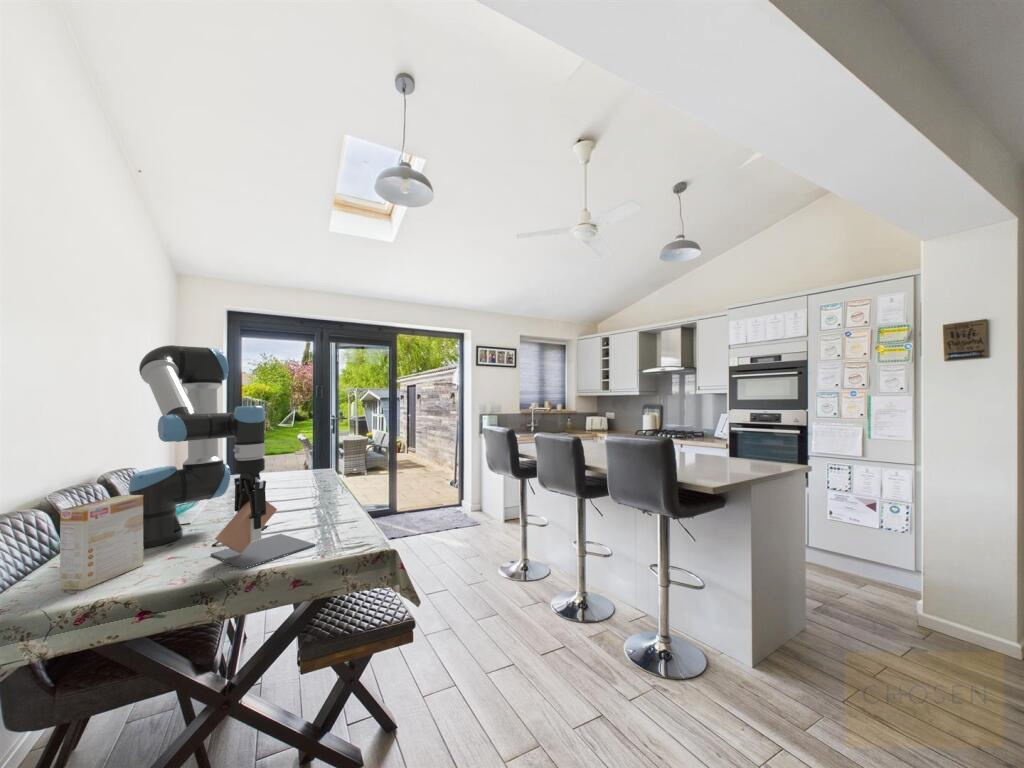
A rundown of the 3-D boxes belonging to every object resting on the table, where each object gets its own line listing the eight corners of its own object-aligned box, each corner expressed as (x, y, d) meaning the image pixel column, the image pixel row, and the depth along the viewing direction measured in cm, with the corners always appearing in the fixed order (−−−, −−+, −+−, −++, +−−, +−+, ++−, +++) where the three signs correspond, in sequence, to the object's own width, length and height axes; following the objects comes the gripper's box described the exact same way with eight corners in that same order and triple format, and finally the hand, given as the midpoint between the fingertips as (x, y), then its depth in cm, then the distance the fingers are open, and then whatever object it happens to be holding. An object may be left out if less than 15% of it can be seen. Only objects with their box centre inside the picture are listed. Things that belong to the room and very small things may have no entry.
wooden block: (214, 539, 116) (252, 495, 124) (231, 549, 119) (267, 506, 128) (224, 542, 112) (262, 498, 121) (241, 553, 116) (277, 509, 125)
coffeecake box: (121, 564, 115) (122, 494, 116) (144, 565, 115) (145, 494, 115) (57, 589, 100) (58, 508, 101) (83, 590, 100) (84, 508, 100)
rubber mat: (210, 555, 121) (210, 553, 121) (280, 535, 138) (280, 533, 138) (244, 569, 110) (244, 567, 110) (315, 545, 127) (315, 543, 127)
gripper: (220, 458, 123) (220, 536, 123) (252, 462, 113) (252, 547, 112) (247, 454, 130) (247, 529, 129) (280, 458, 119) (280, 539, 119)
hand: (249, 537), depth 121 cm, fingers closed on wooden block, 6 cm apart
